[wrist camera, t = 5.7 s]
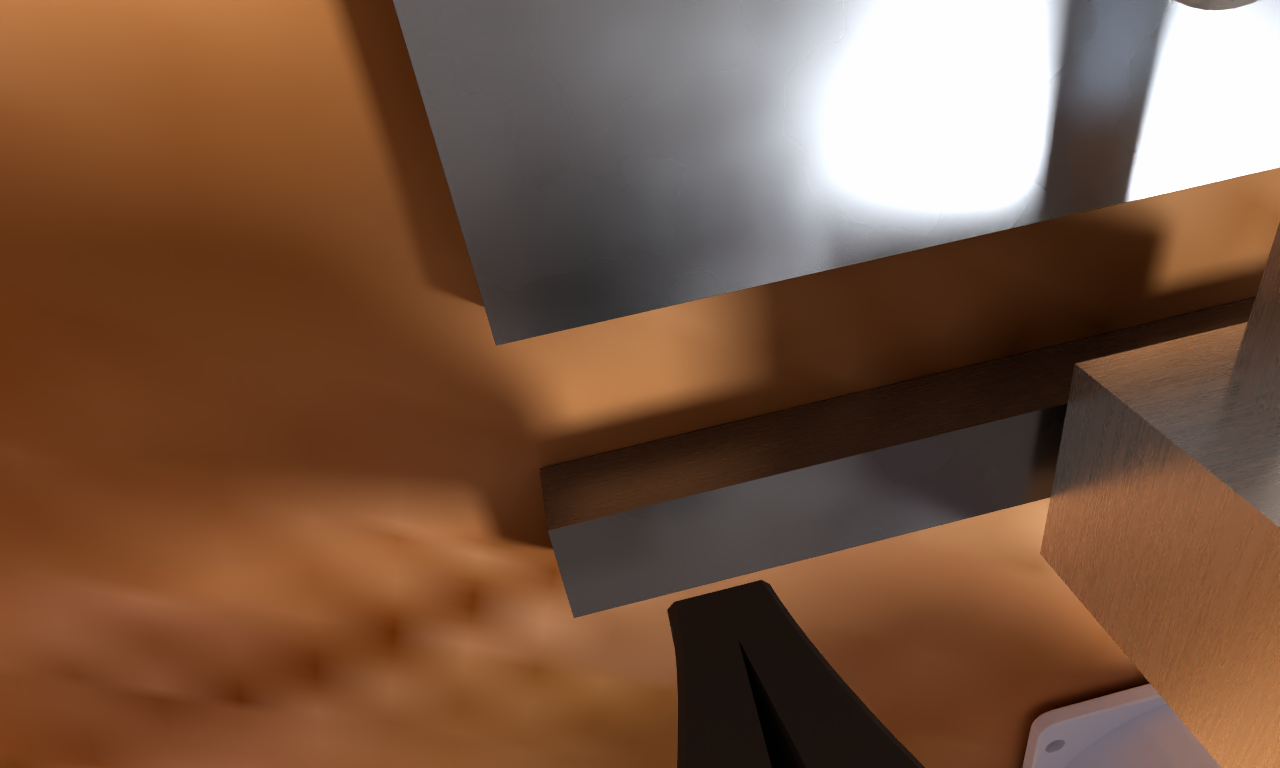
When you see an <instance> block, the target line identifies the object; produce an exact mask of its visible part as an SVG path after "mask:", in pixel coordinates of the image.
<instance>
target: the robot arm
mask: <svg viewBox="0 0 1280 768" xmlns="http://www.w3.org/2000/svg"><path fill="white" fill-rule="evenodd" d="M667 611H668V616H669V621H670V626H671V631H672V637H673V642H674V647H675V654H676V666H677V684H678V761H677V768H925V767H924V766H923V765H922V764H921V763H920V762H919V761H918V760H917V759H916V758H915V757H914V756H913V755H912V754H911V753H910V752H909V751H908V750H907V749H906V748H905V747H904V746H903V745H902V744H901V743H900V742H899V741H898V740H897V739H896V738H895V737H894V736H893V735H892V733H891V732H890V731H889V730H888V729H887V728H886V727H885V726H884V725H883V724H882V723H881V722H880V721H879V720H878V719H877V718H876V716H875V715H874V714H873V713H872V712H871V711H870V710H869V709H868V708H867V706H866V705H865V704H864V703H863V702H862V701H861V700H860V699H859V697H858V696H857V695H856V694H855V693H854V692H853V691H852V690H851V689H850V687H849V686H848V685H847V684H846V683H845V682H844V681H843V680H842V678H841V677H840V676H839V675H838V674H837V673H836V671H835V670H834V669H833V668H832V667H831V666H830V664H829V663H828V662H827V661H826V659H825V658H824V657H823V656H822V655H821V653H820V652H819V651H818V650H817V648H816V647H815V646H814V645H813V643H812V642H811V641H810V640H809V638H808V637H807V636H806V635H805V633H804V632H803V631H802V629H801V628H800V627H799V625H798V624H797V623H796V622H795V620H794V619H793V617H792V616H791V615H790V613H789V612H788V611H787V609H786V608H785V606H784V605H783V603H782V602H781V601H780V599H779V598H778V596H777V595H776V593H775V592H774V590H773V589H772V587H771V585H770V584H768V583H766V582H764V581H762V580H759V581H755V582H752V583H748V584H744V585H740V586H736V587H732V588H728V589H724V590H720V591H716V592H712V593H708V594H704V595H700V596H696V597H692V598H688V599H684V600H680V601H676V602H674V603H673V604H672V605H671V606H670V607H669V608H668V609H667ZM1022 768H1221V767H1220V765H1219V764H1218V763H1217V762H1216V761H1215V760H1214V758H1213V757H1212V756H1211V755H1210V754H1209V752H1208V751H1207V750H1206V749H1205V748H1204V747H1203V745H1202V744H1201V743H1200V742H1199V741H1198V739H1197V738H1196V737H1195V736H1194V735H1193V734H1192V732H1191V731H1190V730H1189V729H1188V728H1187V726H1186V725H1185V724H1184V723H1183V722H1182V721H1181V719H1180V718H1179V717H1178V716H1177V715H1176V714H1175V712H1174V711H1173V710H1172V709H1171V708H1170V706H1169V705H1168V704H1167V703H1166V702H1165V701H1164V699H1163V698H1162V697H1161V696H1160V695H1159V693H1158V692H1157V691H1156V690H1155V689H1154V688H1153V686H1152V685H1151V684H1150V683H1149V684H1145V685H1142V686H1138V687H1134V688H1131V689H1127V690H1123V691H1120V692H1116V693H1112V694H1109V695H1105V696H1101V697H1098V698H1094V699H1090V700H1087V701H1083V702H1079V703H1076V704H1072V705H1068V706H1065V707H1061V708H1057V709H1054V710H1050V711H1048V712H1045V713H1043V714H1041V715H1040V716H1038V717H1037V718H1036V719H1035V720H1034V721H1033V723H1032V725H1031V729H1030V734H1029V739H1028V743H1027V748H1026V753H1025V758H1024V762H1023V767H1022Z"/></svg>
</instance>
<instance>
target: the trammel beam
mask: <svg viewBox="0 0 1280 768" xmlns="http://www.w3.org/2000/svg"><path fill="white" fill-rule="evenodd" d="M1254 301H1255V298H1252V299H1247V300H1243V301H1239V302H1235V303H1231V304H1227V305H1222V306H1218V307H1214V308H1210V309H1206V310H1201V311H1197V312H1193V313H1189V314H1185V315H1181V316H1176V317H1172V318H1168V319H1164V320H1160V321H1155V322H1151V323H1147V324H1143V325H1139V326H1135V327H1130V328H1126V329H1122V330H1118V331H1114V332H1110V333H1105V334H1101V335H1097V336H1093V337H1089V338H1084V339H1080V340H1076V341H1072V342H1068V343H1064V344H1059V345H1055V346H1051V347H1047V348H1043V349H1038V350H1034V351H1030V352H1026V353H1022V354H1018V355H1013V356H1009V357H1005V358H1001V359H997V360H992V361H988V362H984V363H980V364H976V365H972V366H967V367H963V368H959V369H955V370H951V371H946V372H942V373H938V374H934V375H930V376H926V377H921V378H917V379H913V380H909V381H905V382H901V383H896V384H892V385H888V386H884V387H880V388H875V389H871V390H867V391H863V392H859V393H855V394H850V395H846V396H842V397H838V398H834V399H829V400H825V401H821V402H817V403H813V404H809V405H804V406H800V407H796V408H792V409H788V410H783V411H779V412H775V413H771V414H767V415H763V416H758V417H754V418H750V419H746V420H742V421H738V422H733V423H729V424H725V425H721V426H717V427H712V428H708V429H704V430H700V431H696V432H692V433H687V434H683V435H679V436H675V437H671V438H666V439H662V440H658V441H654V442H650V443H646V444H641V445H637V446H633V447H629V448H625V449H620V450H616V451H612V452H608V453H604V454H600V455H595V456H591V457H587V458H583V459H579V460H575V461H570V462H566V463H562V464H558V465H554V466H549V467H545V468H541V469H540V474H541V482H542V490H543V498H544V506H545V514H546V522H547V529H548V533H549V537H550V540H551V543H552V547H553V550H554V553H555V557H556V560H557V563H558V566H559V570H560V573H561V576H562V580H563V583H564V586H565V590H566V593H567V596H568V600H569V603H570V606H571V609H572V613H573V616H574V618H575V617H579V616H583V615H587V614H591V613H595V612H599V611H603V610H607V609H611V608H615V607H619V606H623V605H627V604H631V603H634V602H638V601H642V600H646V599H650V598H654V597H658V596H662V595H666V594H670V593H674V592H678V591H682V590H686V589H690V588H694V587H698V586H702V585H706V584H710V583H714V582H717V581H721V580H725V579H729V578H733V577H737V576H741V575H745V574H749V573H753V572H757V571H761V570H765V569H769V568H773V567H777V566H781V565H785V564H789V563H793V562H796V561H800V560H804V559H808V558H812V557H816V556H820V555H824V554H828V553H832V552H836V551H840V550H844V549H848V548H852V547H856V546H860V545H864V544H868V543H872V542H875V541H879V540H883V539H887V538H891V537H895V536H899V535H903V534H907V533H911V532H915V531H919V530H923V529H927V528H931V527H935V526H939V525H943V524H947V523H951V522H955V521H958V520H962V519H966V518H970V517H974V516H978V515H982V514H986V513H990V512H994V511H998V510H1002V509H1006V508H1010V507H1014V506H1018V505H1022V504H1026V503H1030V502H1034V501H1037V500H1041V499H1045V498H1049V497H1051V492H1052V487H1053V481H1054V476H1055V471H1056V465H1057V460H1058V454H1059V449H1060V443H1061V438H1062V432H1063V427H1064V421H1065V416H1066V411H1067V405H1068V400H1069V394H1070V389H1071V383H1072V378H1073V372H1074V367H1075V364H1076V363H1080V362H1084V361H1088V360H1092V359H1096V358H1100V357H1105V356H1109V355H1113V354H1117V353H1121V352H1125V351H1129V350H1134V349H1138V348H1142V347H1146V346H1150V345H1154V344H1158V343H1163V342H1167V341H1171V340H1175V339H1179V338H1183V337H1187V336H1192V335H1196V334H1200V333H1204V332H1208V331H1212V330H1216V329H1221V328H1225V327H1229V326H1233V325H1237V324H1241V323H1245V322H1248V320H1249V317H1250V314H1251V311H1252V307H1253V304H1254Z"/></svg>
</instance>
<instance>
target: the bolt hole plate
mask: <svg viewBox="0 0 1280 768" xmlns="http://www.w3.org/2000/svg"><path fill="white" fill-rule="evenodd" d="M393 3H394V6H395V9H396V13H397V16H398V19H399V23H400V26H401V29H402V33H403V36H404V39H405V43H406V46H407V49H408V53H409V56H410V59H411V63H412V66H413V69H414V73H415V76H416V79H417V83H418V86H419V89H420V93H421V96H422V99H423V103H424V106H425V110H426V113H427V116H428V120H429V123H430V126H431V130H432V133H433V136H434V140H435V143H436V146H437V150H438V153H439V156H440V160H441V163H442V166H443V170H444V173H445V176H446V180H447V183H448V186H449V190H450V193H451V196H452V200H453V203H454V206H455V210H456V213H457V217H458V220H459V223H460V227H461V230H462V233H463V237H464V240H465V243H466V247H467V250H468V253H469V257H470V260H471V263H472V267H473V270H474V273H475V277H476V280H477V283H478V287H479V290H480V293H481V297H482V300H483V303H484V307H485V310H486V313H487V317H488V320H489V324H490V327H491V330H492V334H493V337H494V340H495V344H496V345H501V344H505V343H509V342H514V341H518V340H523V339H527V338H531V337H536V336H540V335H545V334H549V333H553V332H558V331H562V330H566V329H571V328H575V327H580V326H584V325H588V324H593V323H597V322H602V321H606V320H610V319H615V318H619V317H624V316H628V315H632V314H637V313H641V312H646V311H650V310H654V309H659V308H663V307H668V306H672V305H676V304H681V303H685V302H690V301H694V300H698V299H703V298H707V297H712V296H716V295H720V294H725V293H729V292H733V291H738V290H742V289H747V288H751V287H755V286H760V285H764V284H769V283H773V282H777V281H782V280H786V279H791V278H795V277H799V276H804V275H808V274H813V273H817V272H821V271H826V270H830V269H835V268H839V267H843V266H848V265H852V264H857V263H861V262H865V261H870V260H874V259H878V258H883V257H887V256H892V255H896V254H900V253H905V252H909V251H914V250H918V249H922V248H927V247H931V246H936V245H940V244H944V243H949V242H953V241H958V240H962V239H966V238H971V237H975V236H980V235H984V234H988V233H993V232H997V231H1002V230H1006V229H1010V228H1015V227H1019V226H1024V225H1028V224H1032V223H1037V222H1041V221H1045V220H1050V219H1054V218H1059V217H1063V216H1067V215H1072V214H1076V213H1081V212H1085V211H1089V210H1094V209H1098V208H1103V207H1107V206H1111V205H1116V204H1120V203H1125V202H1129V201H1133V200H1138V199H1142V198H1147V197H1151V196H1155V195H1160V194H1164V193H1169V192H1173V191H1177V190H1182V189H1186V188H1191V187H1195V186H1199V185H1204V184H1208V183H1212V182H1217V181H1221V180H1226V179H1230V178H1234V177H1239V176H1243V175H1248V174H1252V173H1256V172H1261V171H1265V170H1270V169H1274V168H1278V167H1280V0H393Z"/></svg>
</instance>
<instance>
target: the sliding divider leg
mask: <svg viewBox="0 0 1280 768" xmlns="http://www.w3.org/2000/svg"><path fill="white" fill-rule="evenodd" d="M1040 554H1041V555H1042V556H1043V558H1044V559H1045V560H1046V561H1047V562H1048V564H1049V565H1050V566H1051V567H1052V568H1053V569H1054V571H1055V572H1056V573H1057V574H1058V575H1059V577H1060V578H1061V579H1062V580H1063V581H1064V582H1065V584H1066V585H1067V586H1068V587H1069V588H1070V590H1071V591H1072V592H1073V593H1074V594H1075V595H1076V597H1077V598H1078V599H1079V600H1080V601H1081V603H1082V604H1083V605H1084V606H1085V607H1086V608H1087V610H1088V611H1089V612H1090V613H1091V614H1092V616H1093V617H1094V618H1095V619H1096V620H1097V621H1098V623H1099V624H1100V625H1101V626H1102V627H1103V628H1104V630H1105V631H1106V632H1107V633H1108V634H1109V636H1110V637H1111V638H1112V639H1113V640H1114V641H1115V643H1116V644H1117V645H1118V646H1119V647H1120V649H1121V650H1122V651H1123V652H1124V653H1125V654H1126V656H1127V657H1128V658H1129V659H1130V660H1131V662H1132V663H1133V664H1134V665H1135V666H1136V667H1137V669H1138V670H1139V671H1140V672H1141V673H1142V675H1143V676H1144V677H1145V678H1146V679H1147V680H1148V682H1149V683H1150V684H1151V685H1152V686H1153V688H1154V689H1155V690H1156V691H1157V692H1158V693H1159V695H1160V696H1161V697H1162V698H1163V699H1164V701H1165V702H1166V703H1167V704H1168V705H1169V706H1170V708H1171V709H1172V710H1173V711H1174V712H1175V714H1176V715H1177V716H1178V717H1179V718H1180V719H1181V721H1182V722H1183V723H1184V724H1185V725H1186V726H1187V728H1188V729H1189V730H1190V731H1191V732H1192V734H1193V735H1194V736H1195V737H1196V738H1197V739H1198V741H1199V742H1200V743H1201V744H1202V745H1203V747H1204V748H1205V749H1206V750H1207V751H1208V752H1209V754H1210V755H1211V756H1212V757H1213V758H1214V760H1215V761H1216V762H1217V763H1218V764H1219V765H1220V767H1221V768H1280V222H1279V226H1278V229H1277V232H1276V235H1275V238H1274V241H1273V244H1272V248H1271V251H1270V254H1269V257H1268V260H1267V263H1266V267H1265V270H1264V273H1263V276H1262V279H1261V282H1260V285H1259V289H1258V292H1257V295H1256V298H1255V301H1254V304H1253V307H1252V311H1251V314H1250V317H1249V320H1248V322H1245V323H1241V324H1237V325H1233V326H1229V327H1225V328H1221V329H1216V330H1212V331H1208V332H1204V333H1200V334H1196V335H1192V336H1187V337H1183V338H1179V339H1175V340H1171V341H1167V342H1163V343H1158V344H1154V345H1150V346H1146V347H1142V348H1138V349H1134V350H1129V351H1125V352H1121V353H1117V354H1113V355H1109V356H1105V357H1100V358H1096V359H1092V360H1088V361H1084V362H1080V363H1076V364H1075V367H1074V372H1073V378H1072V383H1071V389H1070V394H1069V400H1068V405H1067V411H1066V416H1065V421H1064V427H1063V432H1062V438H1061V443H1060V449H1059V454H1058V460H1057V465H1056V471H1055V476H1054V481H1053V487H1052V492H1051V498H1050V503H1049V509H1048V514H1047V520H1046V525H1045V531H1044V536H1043V542H1042V547H1041V552H1040Z"/></svg>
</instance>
